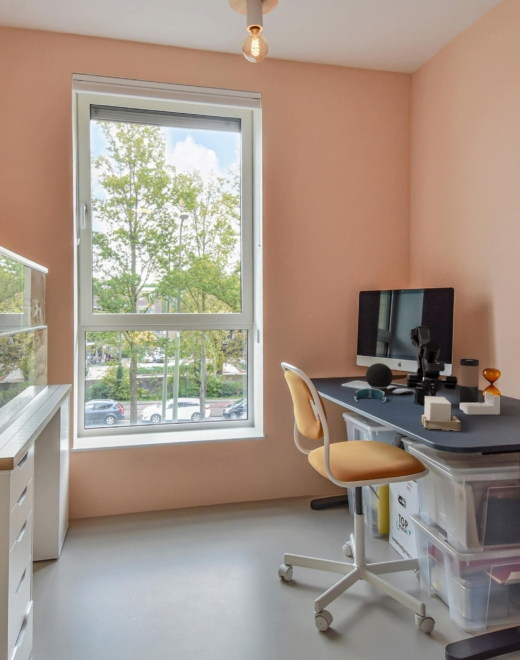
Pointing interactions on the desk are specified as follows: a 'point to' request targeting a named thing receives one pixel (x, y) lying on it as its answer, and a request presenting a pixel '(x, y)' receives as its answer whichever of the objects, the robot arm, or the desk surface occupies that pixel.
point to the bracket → (483, 406)
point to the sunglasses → (366, 391)
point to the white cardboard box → (437, 408)
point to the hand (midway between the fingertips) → (433, 399)
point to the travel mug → (469, 380)
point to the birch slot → (442, 424)
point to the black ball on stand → (379, 377)
